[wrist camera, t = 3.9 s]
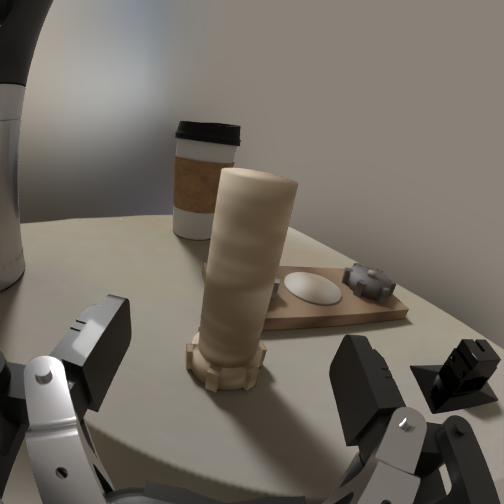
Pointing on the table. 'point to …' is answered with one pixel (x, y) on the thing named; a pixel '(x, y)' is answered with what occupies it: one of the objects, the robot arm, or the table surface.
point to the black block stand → (459, 378)
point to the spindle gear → (240, 277)
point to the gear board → (330, 297)
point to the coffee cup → (200, 174)
